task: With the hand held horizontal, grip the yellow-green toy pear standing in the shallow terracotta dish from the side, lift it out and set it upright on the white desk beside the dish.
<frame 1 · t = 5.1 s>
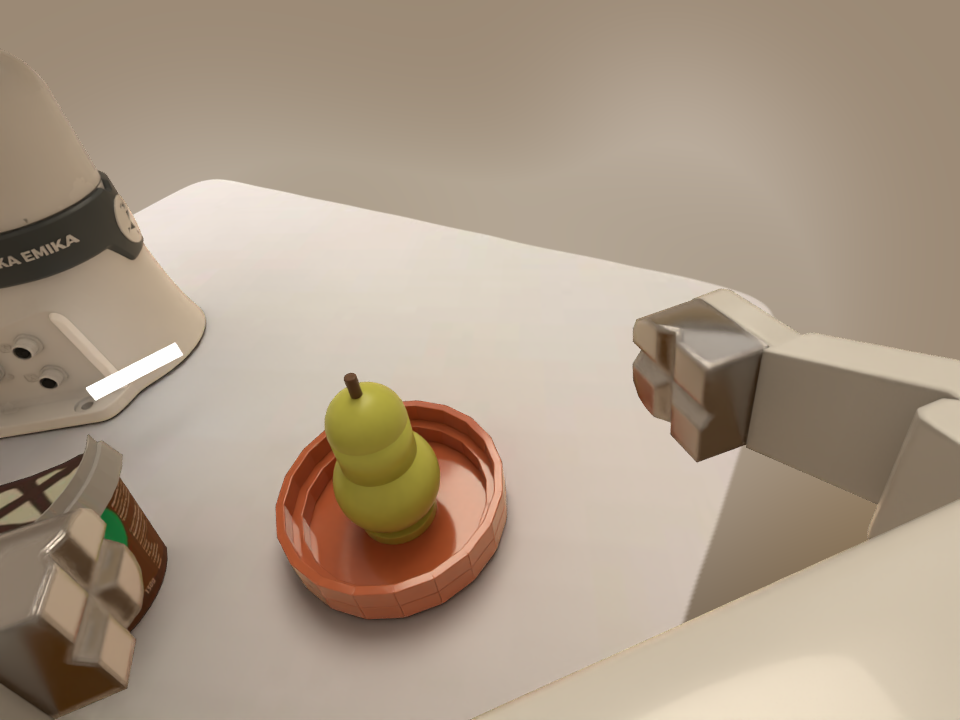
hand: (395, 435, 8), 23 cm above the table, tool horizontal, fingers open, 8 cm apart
food container: (87, 635, 31), on the table
pear: (399, 510, 34), resting on dish
dish: (400, 512, 34), on the table
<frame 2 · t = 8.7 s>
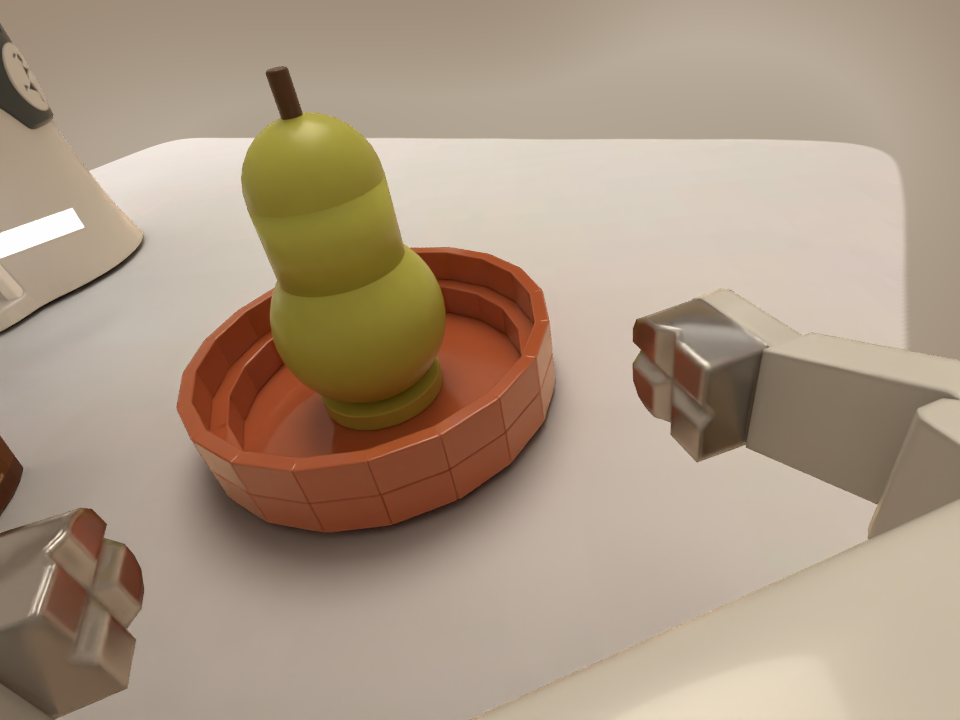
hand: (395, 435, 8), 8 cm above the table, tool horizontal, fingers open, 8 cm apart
pear: (384, 389, 22), resting on dish
dish: (386, 393, 22), on the table
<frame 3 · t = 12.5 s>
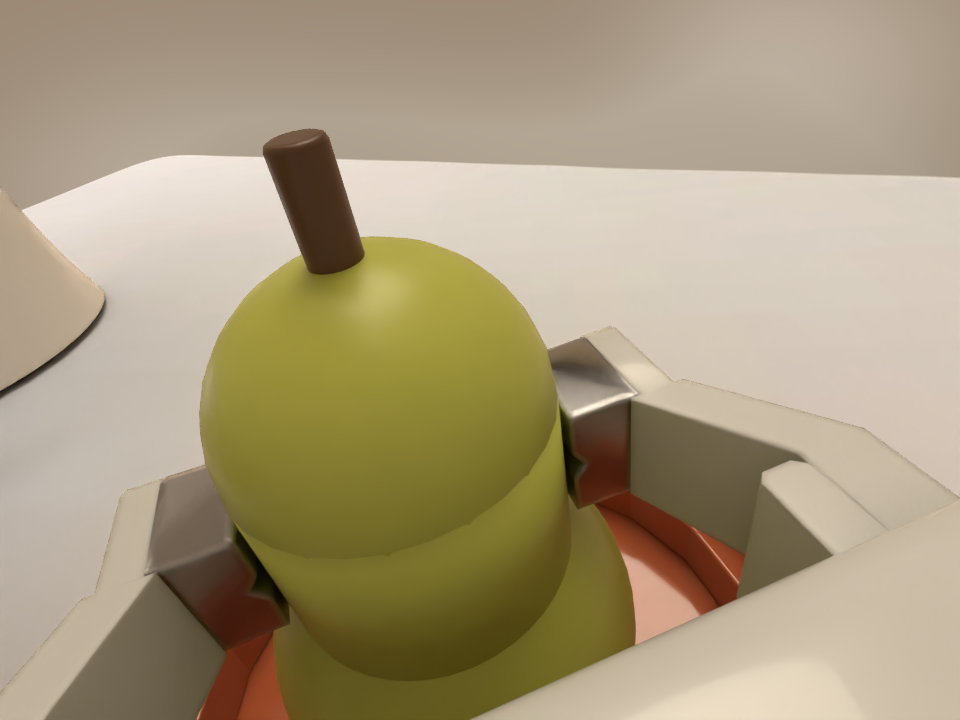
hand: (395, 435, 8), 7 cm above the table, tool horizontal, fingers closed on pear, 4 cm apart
pear: (486, 691, 12), resting on dish, touching gripper
dish: (487, 697, 12), on the table
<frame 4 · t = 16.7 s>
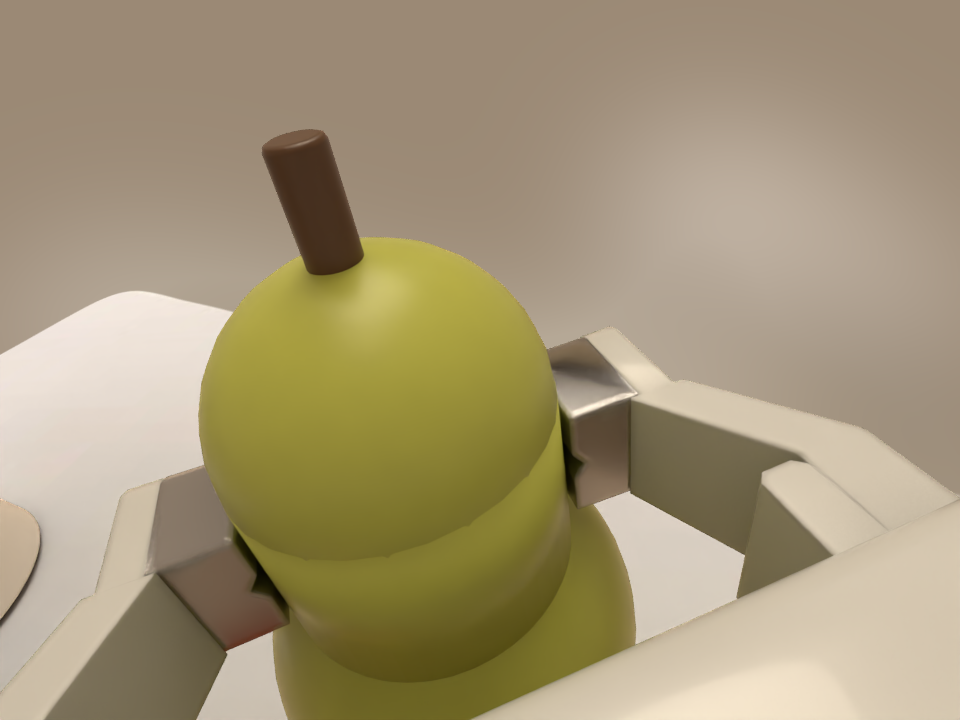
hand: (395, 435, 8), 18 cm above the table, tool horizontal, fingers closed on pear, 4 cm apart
pear: (485, 692, 12), point 11 cm above the table, touching gripper
when the fingers open (7 cm above the table, at t = 21.2 s): pear stays where it is, on the table.
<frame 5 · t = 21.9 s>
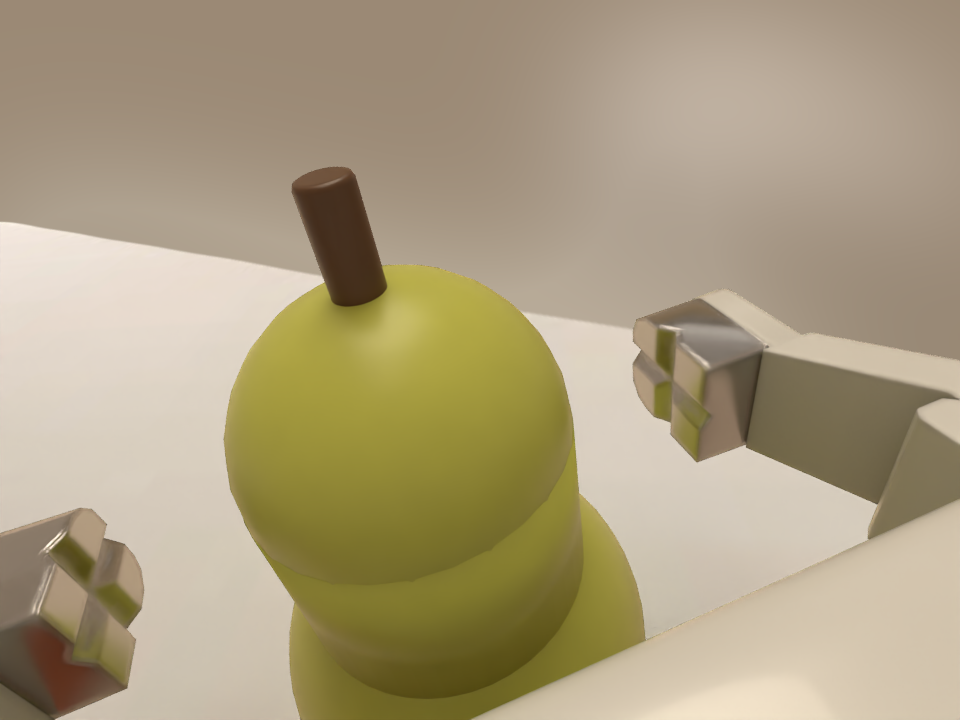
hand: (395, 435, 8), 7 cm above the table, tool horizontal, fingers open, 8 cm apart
pear: (494, 702, 12), on the table
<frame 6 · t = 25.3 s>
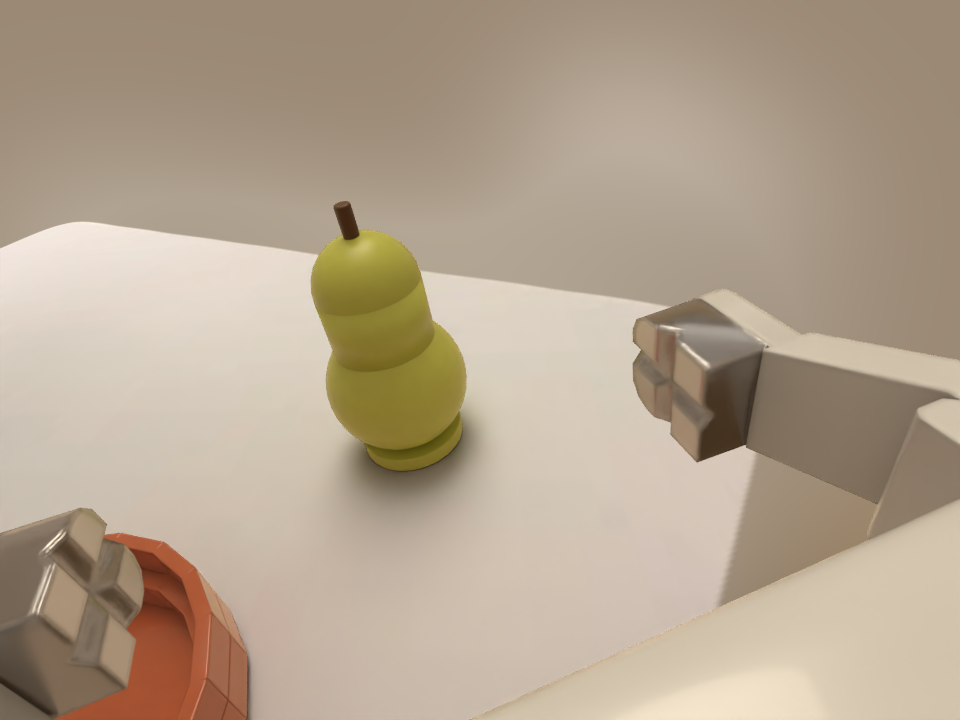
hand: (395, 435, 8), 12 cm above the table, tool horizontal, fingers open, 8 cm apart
pear: (414, 434, 26), on the table
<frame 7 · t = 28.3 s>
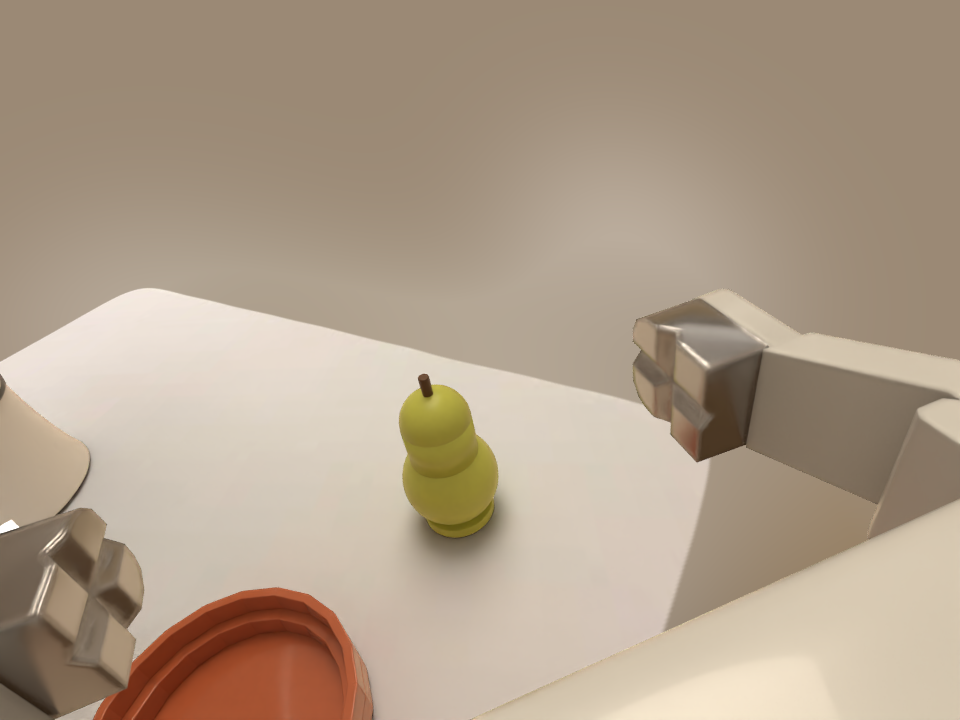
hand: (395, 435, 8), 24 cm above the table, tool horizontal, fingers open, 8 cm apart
pear: (459, 508, 37), on the table
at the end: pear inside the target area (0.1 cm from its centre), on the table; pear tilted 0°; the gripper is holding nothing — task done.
